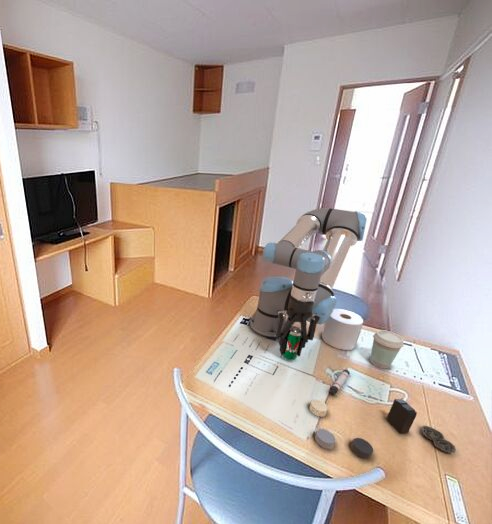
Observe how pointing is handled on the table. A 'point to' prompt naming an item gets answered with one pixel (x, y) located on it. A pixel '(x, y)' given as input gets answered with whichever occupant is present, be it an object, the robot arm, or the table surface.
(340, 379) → the marker
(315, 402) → the cream cap
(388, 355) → the coffee cup
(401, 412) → the ink cartridge
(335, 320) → the toilet paper roll
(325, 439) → the grey cap
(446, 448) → the corroded twin loop
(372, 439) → the table surface
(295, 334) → the soda can
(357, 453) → the charcoal cap
